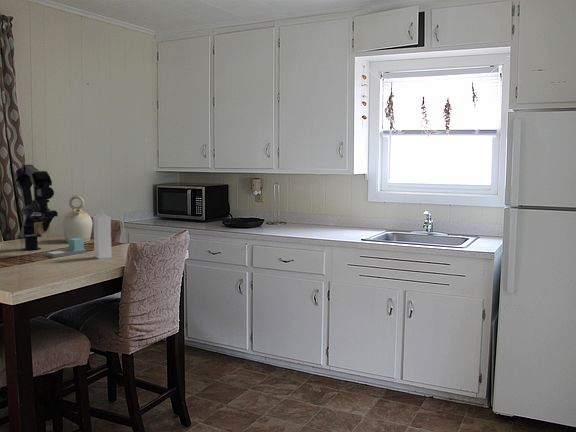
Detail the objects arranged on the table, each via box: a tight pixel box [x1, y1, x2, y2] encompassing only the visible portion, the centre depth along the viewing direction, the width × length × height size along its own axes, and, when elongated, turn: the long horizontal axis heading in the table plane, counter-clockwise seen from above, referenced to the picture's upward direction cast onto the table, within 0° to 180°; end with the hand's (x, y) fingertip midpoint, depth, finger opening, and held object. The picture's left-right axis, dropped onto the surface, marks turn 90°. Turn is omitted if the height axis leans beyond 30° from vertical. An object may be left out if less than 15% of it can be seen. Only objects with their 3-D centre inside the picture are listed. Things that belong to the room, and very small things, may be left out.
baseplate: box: [45, 248, 88, 259], centre depth 272 cm, size 7×17×2 cm, turn 143°
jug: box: [61, 195, 93, 243], centre depth 309 cm, size 15×16×25 cm
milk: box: [92, 209, 112, 260], centre depth 264 cm, size 6×6×22 cm
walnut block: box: [34, 222, 51, 235], centre depth 269 cm, size 5×5×5 cm
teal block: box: [67, 238, 85, 251], centre depth 276 cm, size 5×5×5 cm
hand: (42, 231), depth 270 cm, fingers closed on walnut block, 5 cm apart
